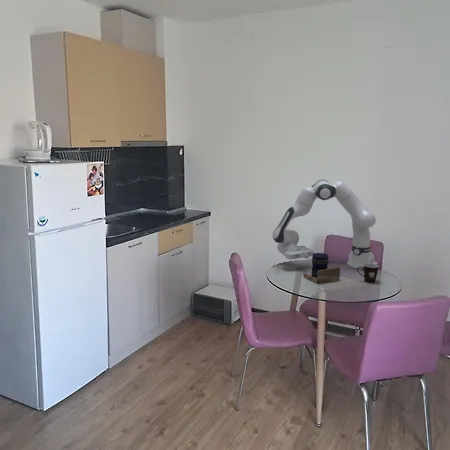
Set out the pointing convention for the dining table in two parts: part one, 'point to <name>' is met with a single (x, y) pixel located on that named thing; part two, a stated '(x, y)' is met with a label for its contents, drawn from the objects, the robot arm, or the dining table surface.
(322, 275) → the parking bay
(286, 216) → the robot arm
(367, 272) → the coffee mug
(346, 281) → the dining table surface
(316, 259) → the dark blue cylinder
